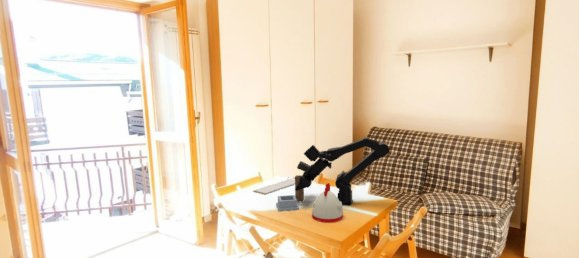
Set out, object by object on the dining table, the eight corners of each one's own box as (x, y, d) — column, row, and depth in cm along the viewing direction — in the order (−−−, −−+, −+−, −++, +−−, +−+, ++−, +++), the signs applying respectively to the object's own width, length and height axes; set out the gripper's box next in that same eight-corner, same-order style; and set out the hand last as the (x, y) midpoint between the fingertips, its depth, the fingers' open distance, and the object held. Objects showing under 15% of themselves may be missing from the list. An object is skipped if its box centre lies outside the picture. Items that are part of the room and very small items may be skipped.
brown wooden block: (304, 199, 170) (303, 175, 168) (303, 201, 167) (302, 177, 165) (296, 199, 171) (296, 175, 169) (295, 201, 168) (294, 176, 166)
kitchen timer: (345, 213, 150) (345, 181, 148) (339, 224, 137) (339, 189, 136) (316, 209, 155) (316, 179, 153) (308, 220, 142) (307, 187, 141)
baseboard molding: (250, 191, 188) (265, 196, 180) (250, 187, 188) (264, 191, 180) (286, 180, 211) (300, 183, 203) (286, 176, 210) (300, 179, 203)
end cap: (295, 202, 165) (295, 194, 165) (299, 209, 155) (298, 200, 155) (276, 204, 164) (275, 195, 163) (278, 211, 154) (278, 202, 154)
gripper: (309, 153, 174) (289, 172, 178) (303, 160, 156) (281, 181, 160) (324, 167, 174) (304, 187, 177) (319, 176, 155) (297, 198, 159)
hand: (296, 188), depth 168 cm, fingers open, 7 cm apart
